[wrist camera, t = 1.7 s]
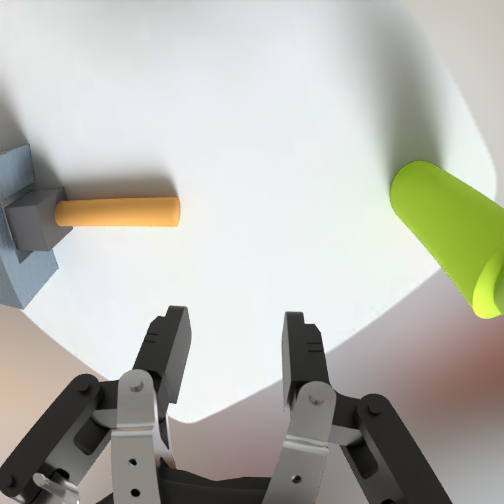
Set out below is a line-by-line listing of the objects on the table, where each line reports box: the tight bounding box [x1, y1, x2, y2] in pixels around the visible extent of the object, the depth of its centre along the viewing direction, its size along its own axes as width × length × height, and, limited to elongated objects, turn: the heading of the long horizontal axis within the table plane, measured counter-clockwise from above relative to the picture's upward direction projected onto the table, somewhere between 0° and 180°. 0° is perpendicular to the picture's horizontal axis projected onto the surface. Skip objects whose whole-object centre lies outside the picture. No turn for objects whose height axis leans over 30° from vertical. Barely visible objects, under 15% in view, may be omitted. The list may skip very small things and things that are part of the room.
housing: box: [0, 144, 58, 310], centre depth 21 cm, size 14×6×8 cm, turn 179°
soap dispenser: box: [390, 161, 504, 318], centre depth 14 cm, size 6×7×20 cm
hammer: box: [4, 187, 180, 252], centre depth 22 cm, size 4×17×4 cm, turn 89°
